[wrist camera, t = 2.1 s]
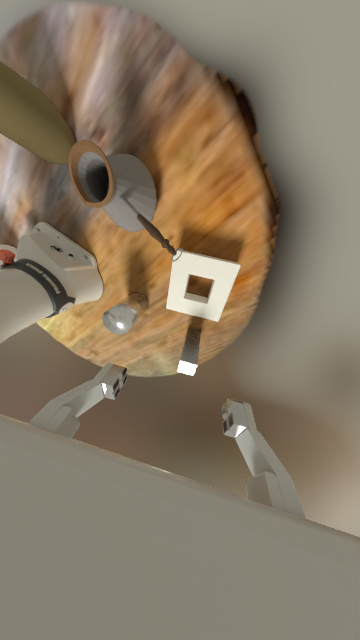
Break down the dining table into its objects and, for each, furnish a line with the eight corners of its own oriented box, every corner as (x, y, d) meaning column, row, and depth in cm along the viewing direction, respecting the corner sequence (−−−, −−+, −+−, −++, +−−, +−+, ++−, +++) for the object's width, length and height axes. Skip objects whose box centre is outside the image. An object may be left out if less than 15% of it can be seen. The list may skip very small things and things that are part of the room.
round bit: (124, 301, 42) (98, 321, 32) (136, 288, 39) (110, 305, 29) (140, 316, 44) (119, 338, 34) (152, 304, 41) (133, 325, 31)
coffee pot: (103, 208, 31) (28, 185, 18) (122, 144, 25) (31, 42, 12) (176, 270, 34) (157, 287, 22) (207, 227, 29) (206, 216, 16)
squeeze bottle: (79, 181, 29) (-66, 114, 14) (43, 155, 28) (-157, 51, 13) (85, 128, 25) (-115, -54, 9) (43, 95, 24) (-259, -170, 8)
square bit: (186, 336, 45) (177, 371, 33) (188, 327, 42) (180, 360, 31) (197, 340, 44) (193, 376, 33) (200, 330, 42) (197, 365, 30)
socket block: (170, 301, 39) (166, 308, 35) (178, 249, 32) (174, 250, 28) (217, 313, 38) (217, 321, 34) (237, 262, 31) (240, 265, 27)
